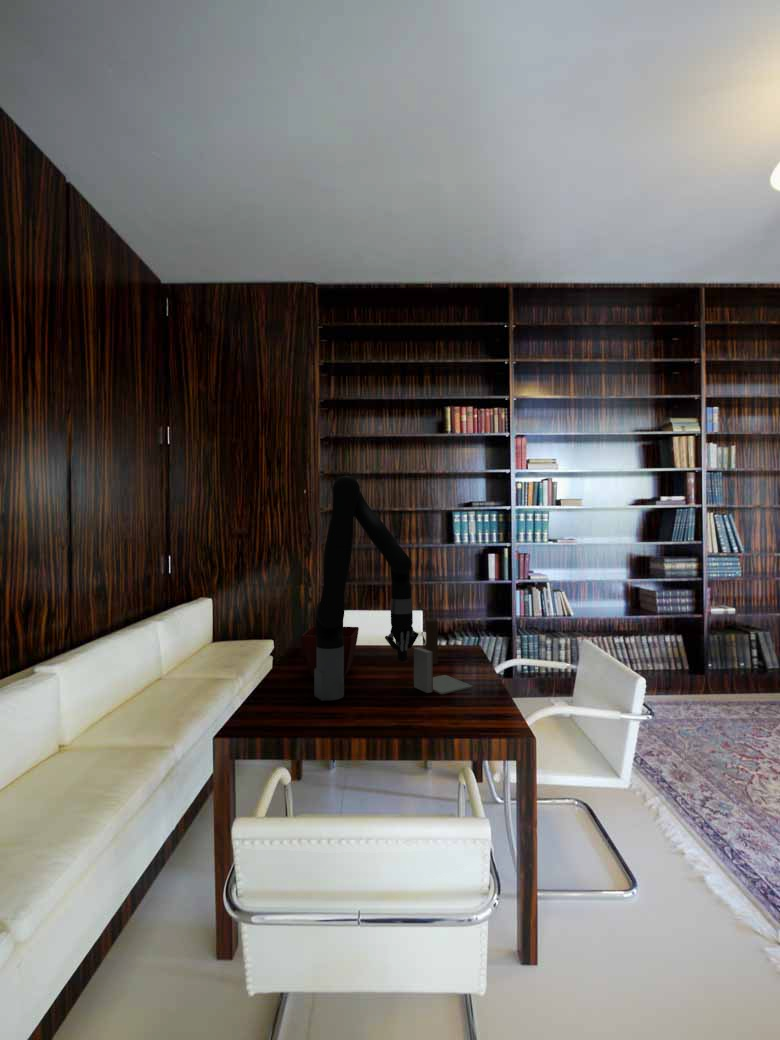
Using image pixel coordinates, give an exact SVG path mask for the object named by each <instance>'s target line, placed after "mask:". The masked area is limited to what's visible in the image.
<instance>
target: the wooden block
mask: <svg viewBox="0 0 780 1040" xmlns="http://www.w3.org/2000/svg"><path fill="white" fill-rule="evenodd" d="M438 625H439V623H438V620H437V619H435V618H432V619H431V618H430V619H429V618H428V619H426V620H425V646H424V648H423V649H426V650H429V651H432V652H433V665H438V664H439V661H438V660H439V656H438V654H439V651H438V650H439V639H438V638H439V632H438V631H439V627H438Z"/></svg>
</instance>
